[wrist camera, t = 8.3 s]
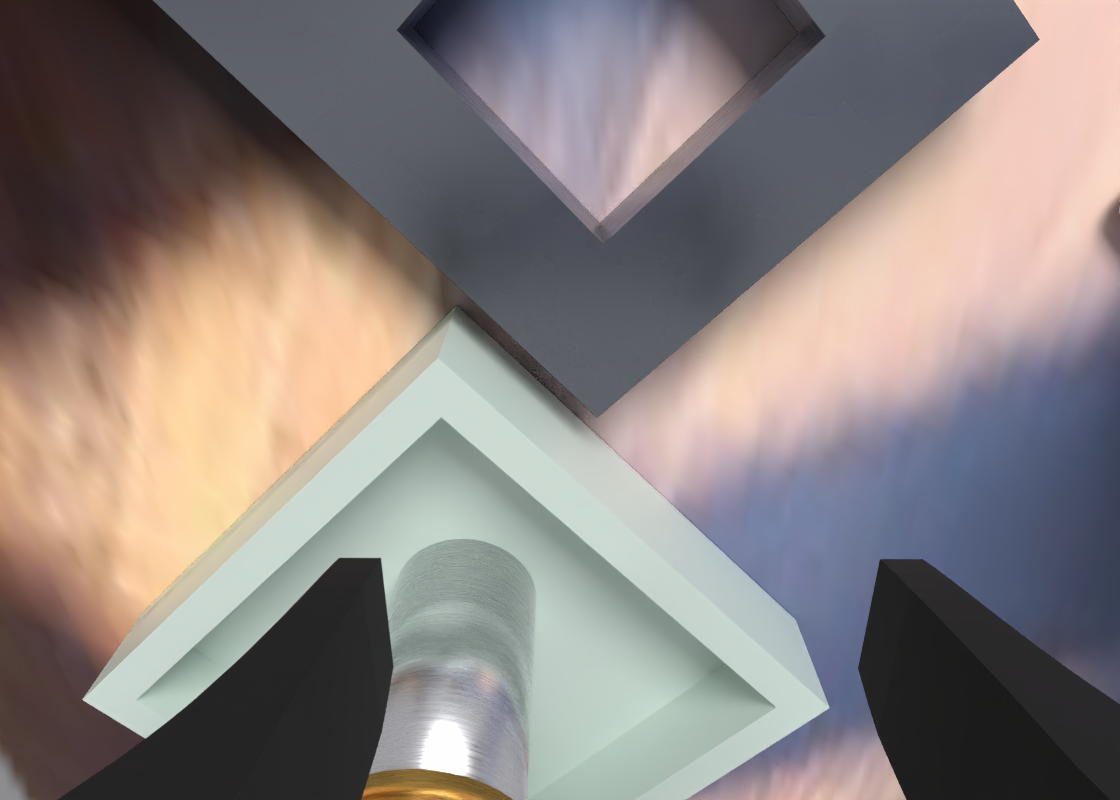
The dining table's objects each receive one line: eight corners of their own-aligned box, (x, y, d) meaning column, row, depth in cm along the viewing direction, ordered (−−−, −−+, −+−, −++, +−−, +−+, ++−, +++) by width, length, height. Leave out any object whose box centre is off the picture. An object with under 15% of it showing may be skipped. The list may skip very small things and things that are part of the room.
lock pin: (590, 600, 24) (604, 913, 15) (468, 690, 25) (422, 1019, 17) (463, 490, 22) (403, 774, 14) (341, 594, 23) (223, 905, 15)
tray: (795, 619, 25) (829, 708, 22) (479, 837, 29) (469, 937, 26) (456, 305, 21) (437, 357, 18) (142, 612, 25) (82, 699, 22)
